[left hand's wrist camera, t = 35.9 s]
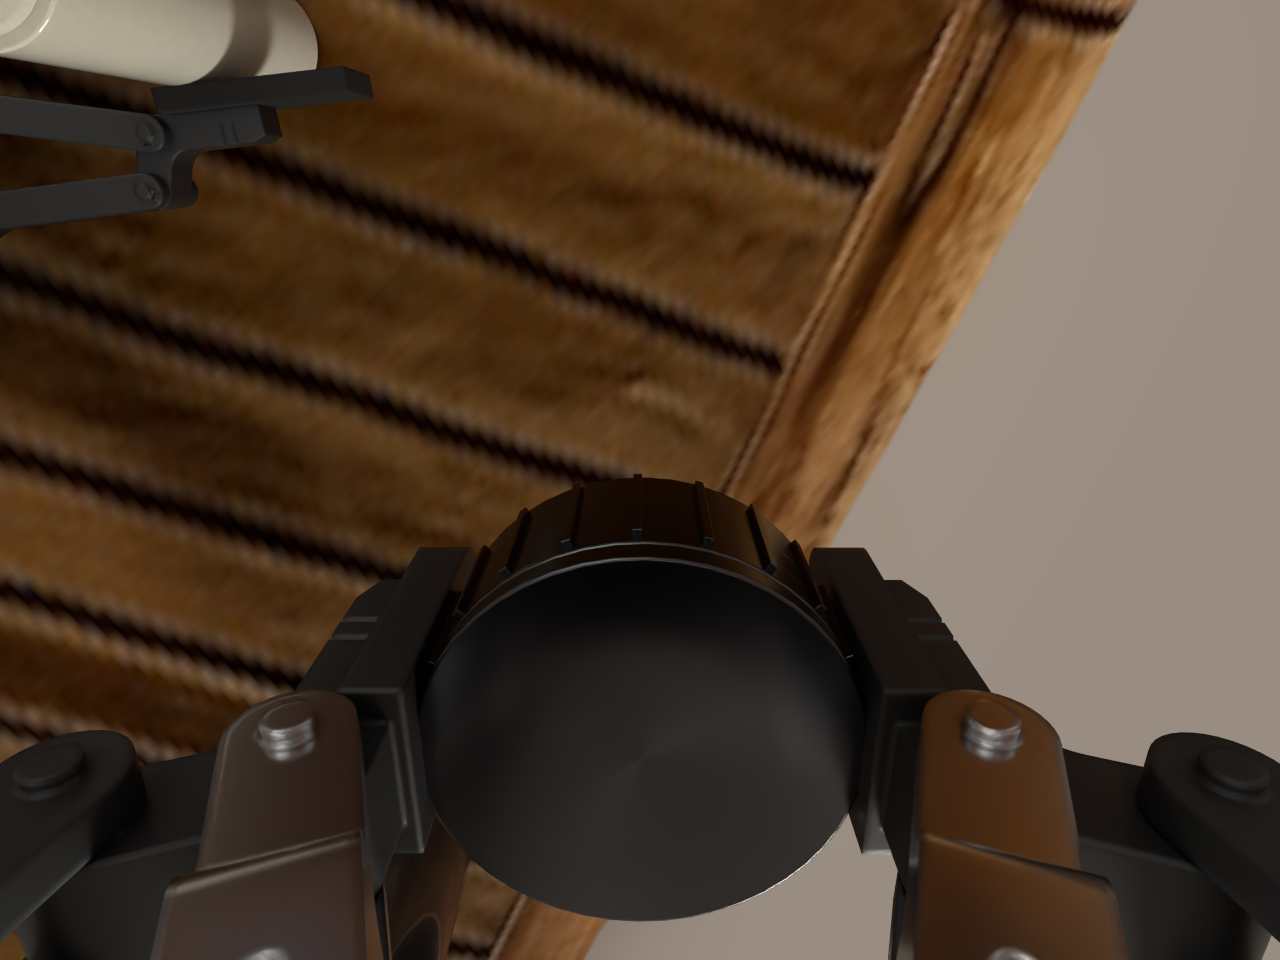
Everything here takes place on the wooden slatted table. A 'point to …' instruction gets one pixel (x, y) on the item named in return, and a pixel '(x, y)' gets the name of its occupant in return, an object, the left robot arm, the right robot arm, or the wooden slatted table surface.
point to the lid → (641, 705)
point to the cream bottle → (161, 37)
